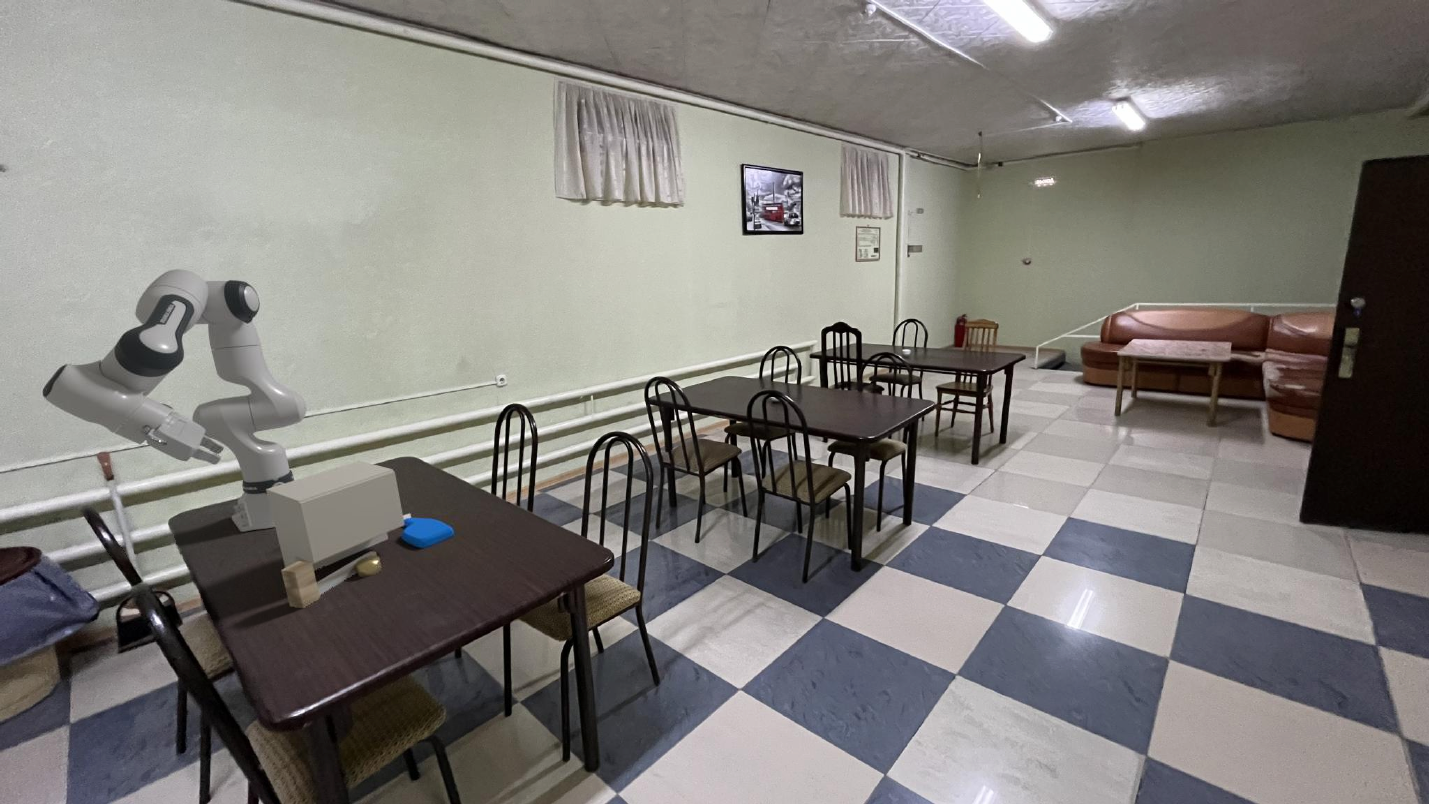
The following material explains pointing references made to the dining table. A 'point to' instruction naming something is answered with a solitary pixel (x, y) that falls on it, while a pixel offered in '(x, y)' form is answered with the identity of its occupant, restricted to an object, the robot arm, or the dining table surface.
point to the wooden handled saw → (313, 581)
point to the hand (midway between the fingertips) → (220, 455)
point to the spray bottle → (425, 531)
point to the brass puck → (368, 566)
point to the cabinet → (335, 513)
